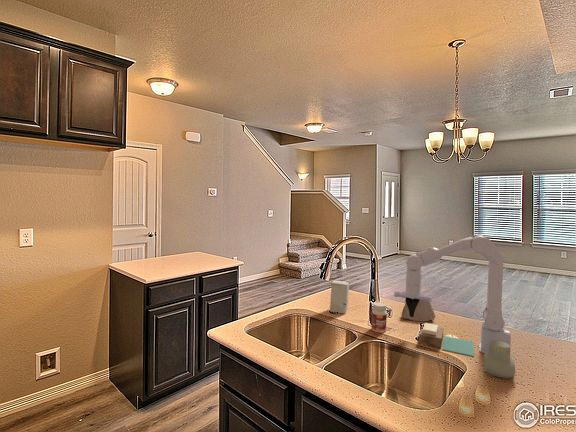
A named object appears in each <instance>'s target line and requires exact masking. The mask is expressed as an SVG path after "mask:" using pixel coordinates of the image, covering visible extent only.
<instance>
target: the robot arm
mask: <svg viewBox="0 0 576 432" xmlns="http://www.w3.org/2000/svg"><path fill="white" fill-rule="evenodd" d="M472 250H473V251H474V252H475V253H477V254H478V255H481V256H483V257H484V258H485V259H486V260H487V261H488V272H487V273H488V274H487V275H488V276H487V290H486V291H487V293H486V303H485V309H484V310H483V311H482V317H483V319H484V322H483V323H481V332H480V334H481V335H480V337H481V338H480V342H479V344H478V347H479V348H478V349H479V352H480V353H482V354H485V353H488V352H489V345H490V342H491V341H494V340H495V341H502V342H505V343H507V344H509V345H510V346H511V341H512V339H511V337H512V336H511V335H512V334H511V331H510V330H507V329H505V328H504V327H505V319H504V318H503V309H502V308H503V306H502V301H503V299H502V298H503V297H502V295H503V281H504V280H503V278H504V261H505V260H504V256H503V254H502V253H501V251H500V250H499V248H498V247H497V246H496V245H495V243H494V242H493V241H492V240H491V239H490V238H489V237H487V236H486V235H483V234H477V235H474V236H468V237H466V238H462V239H459V240H457V241H454V242H452V243H450V244H447V245H445V246H442V247H440V248H437V247H431V246H429V247H427V248H426V250H423V251H420V252H419V251H417V252H415V254H411V255H409V256H408V258H407V259H406V263H405V264H406V267H407V268H406V276H405V291H396V290H395V291H394V293H393V297H395V298H403V299H405V300H404V301H405V303H406V304H407V306H408V309H409V314H410V317H414V312H415V309H416V307H417V305H418V303H419V301H420V300H422V301H428V302H430V303H432V301H433V296H431V295H426V294H421V289H422V288H421V287H422V286H421V284H422V273H421V272H422V267H426V266H428V265H432V264H435V263H437V262H439V261H441V259H442V257H444V256H448V255H450V254H453V253H456V252H460V251H466V252H467V251H468V252H472Z"/></svg>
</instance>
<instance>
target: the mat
mask: <svg viewBox="0 0 576 432" xmlns="http://www.w3.org/2000/svg"><path fill="white" fill-rule="evenodd" d="M474 349H475V348H474V341H471V340H468V339H462V338H456V337H452V336H446V335H443V341H442V346H441V350H442V351H444V352H450V353H453V354H459V355H462V356H463V355H464V356H469V357H472V358H474V356H475V355H474V354H475V353H474V352H475V350H474Z"/></svg>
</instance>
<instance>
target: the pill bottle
mask: <svg viewBox="0 0 576 432" xmlns="http://www.w3.org/2000/svg"><path fill="white" fill-rule="evenodd" d="M387 315H388V313H387V304H385V303H383V302H374V303H373V309H372V311H371V330H372V331H374V332H375V333H385V332H386V331H387Z"/></svg>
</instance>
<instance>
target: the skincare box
mask: <svg viewBox="0 0 576 432" xmlns="http://www.w3.org/2000/svg"><path fill="white" fill-rule="evenodd" d="M330 291H331V292H330V303H329V312H331V313H337V312H338V313H340V314H344V315H345V314H346V313H347V312H348V310H349V309H348V307H349V295H350V293H349V291H350V282H347V281H343V280H333V281H332V282H331V290H330ZM338 313H337V314H338Z"/></svg>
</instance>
